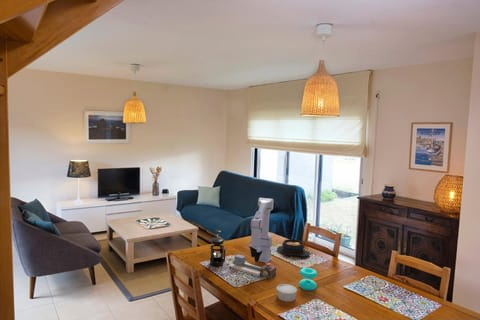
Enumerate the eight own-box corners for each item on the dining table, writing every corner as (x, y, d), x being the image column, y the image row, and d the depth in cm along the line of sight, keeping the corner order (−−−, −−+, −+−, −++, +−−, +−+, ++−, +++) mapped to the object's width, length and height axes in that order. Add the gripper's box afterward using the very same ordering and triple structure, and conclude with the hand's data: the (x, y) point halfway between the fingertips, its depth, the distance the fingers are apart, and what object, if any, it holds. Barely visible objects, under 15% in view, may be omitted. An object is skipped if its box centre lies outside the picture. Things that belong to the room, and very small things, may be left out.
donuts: (312, 266, 196) (320, 273, 187) (311, 282, 197) (319, 290, 188) (297, 267, 194) (304, 274, 184) (296, 284, 195) (303, 292, 185)
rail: (237, 262, 223) (237, 258, 223) (266, 270, 211) (266, 266, 211) (229, 267, 215) (229, 262, 214) (258, 276, 203) (258, 271, 203)
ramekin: (282, 290, 186) (283, 281, 185) (300, 297, 179) (300, 288, 178) (271, 297, 177) (272, 288, 177) (289, 305, 170) (290, 295, 170)
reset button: (266, 269, 208) (267, 262, 207) (272, 271, 205) (272, 263, 205) (263, 271, 204) (264, 264, 204) (269, 273, 202) (270, 265, 202)
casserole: (272, 252, 245) (272, 241, 244) (283, 246, 260) (284, 235, 259) (303, 261, 231) (304, 249, 230) (313, 253, 246) (314, 242, 245)
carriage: (237, 262, 219) (237, 254, 219) (245, 264, 216) (245, 256, 216) (234, 263, 216) (234, 256, 215) (242, 266, 213) (242, 258, 212)
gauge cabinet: (266, 271, 210) (266, 264, 210) (275, 274, 206) (276, 266, 206) (259, 276, 203) (260, 268, 203) (269, 279, 200) (270, 271, 199)
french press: (205, 264, 218) (206, 230, 216) (214, 260, 226) (215, 227, 224) (219, 269, 211) (221, 234, 209) (228, 264, 219) (229, 230, 217)
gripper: (246, 234, 210) (245, 255, 211) (252, 242, 196) (251, 264, 197) (257, 234, 211) (256, 254, 212) (264, 241, 197) (263, 263, 198)
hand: (254, 259), depth 205 cm, fingers open, 7 cm apart
